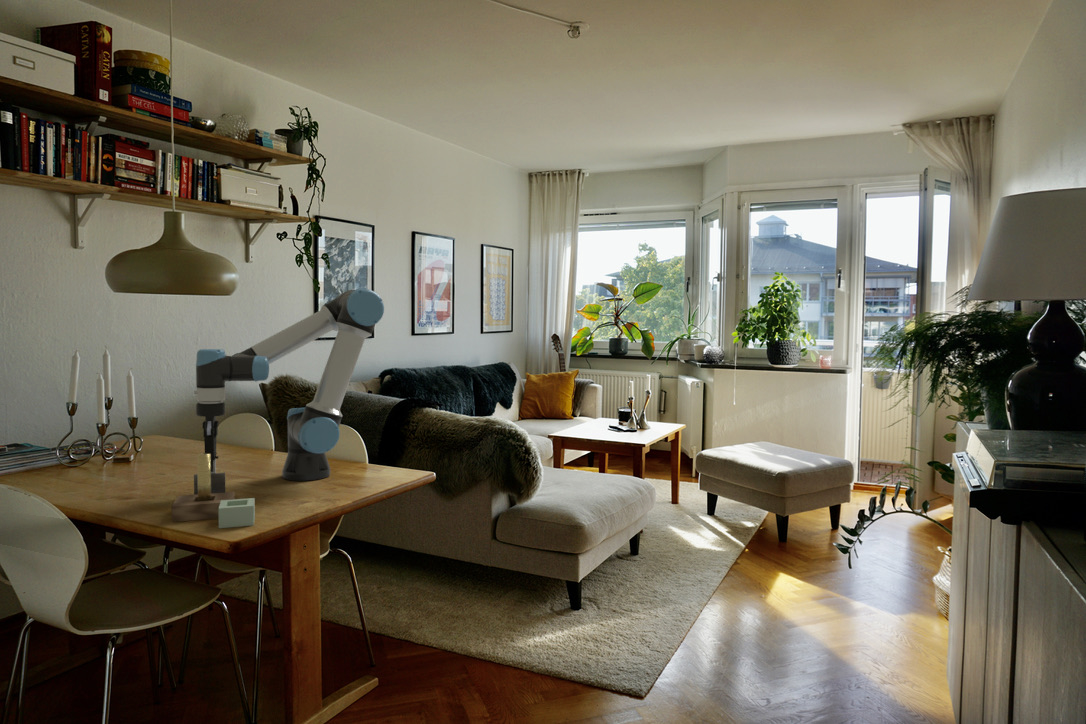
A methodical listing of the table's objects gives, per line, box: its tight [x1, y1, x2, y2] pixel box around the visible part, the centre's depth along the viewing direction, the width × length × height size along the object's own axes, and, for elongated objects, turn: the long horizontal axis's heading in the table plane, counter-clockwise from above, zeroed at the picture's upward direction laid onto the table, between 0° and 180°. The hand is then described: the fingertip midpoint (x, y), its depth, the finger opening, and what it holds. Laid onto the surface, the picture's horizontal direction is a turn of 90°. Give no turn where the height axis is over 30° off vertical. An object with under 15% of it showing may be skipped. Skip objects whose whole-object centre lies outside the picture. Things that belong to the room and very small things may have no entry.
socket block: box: [171, 491, 236, 523], centre depth 182 cm, size 14×11×4 cm
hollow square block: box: [218, 497, 256, 529], centre depth 174 cm, size 8×8×5 cm
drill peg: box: [196, 452, 211, 501], centre depth 181 cm, size 3×3×16 cm
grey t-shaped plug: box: [193, 472, 227, 495], centre depth 191 cm, size 8×10×7 cm
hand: (210, 481), depth 201 cm, fingers closed
